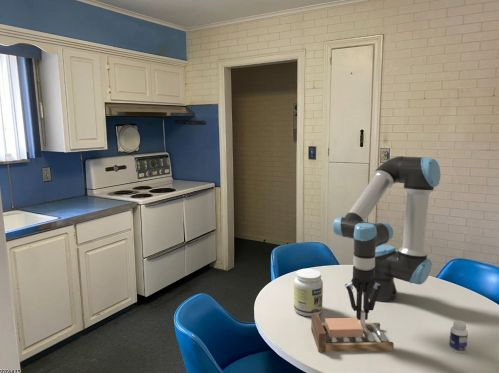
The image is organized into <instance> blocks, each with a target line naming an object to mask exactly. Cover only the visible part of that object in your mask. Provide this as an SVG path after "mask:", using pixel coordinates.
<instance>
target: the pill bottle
mask: <svg viewBox="0 0 499 373" xmlns="http://www.w3.org/2000/svg"><path fill="white" fill-rule="evenodd" d="M449 331H450V332H449V343H448V344H449V346H448V347H449V349H450V350H452V351H453V352H455V353H458V354H459V353H460V354H463V353H466V352H467V349H468V337H469V332H468V330H467V323H466V322H464V321H462V320H454V321H453V323H452V326H451V327H450V330H449Z"/></svg>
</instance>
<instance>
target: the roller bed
mask: <svg viewBox="0 0 499 373" xmlns="http://www.w3.org/2000/svg"><path fill="white" fill-rule="evenodd" d="M371 323H372V324H371V327H372V329H373V332H374V333H375V335H376V337H377V338H378V340H379V342H389V340H388V338H387V337H386V336H385V334H384V333H383V331H382V330H381V327H380V328H379V326H378V325H377V324H376V323H377V322H371ZM324 327H325V326H324ZM325 330H326V328H325ZM325 333H326V336H328V340H329V343H339V342H338V340H337V337H329V335H328V332H327V330H326V331H325ZM363 337H365V339H366V342H377V341H376V339H375V337H373V335H372V333H371V331H369V330H368V328H367V326H366V325H365V329H363ZM340 338H341V341H342V343H351V340H350V337H340ZM352 338H353V340H354V343H359V342H364V340H363V339H362V337H352Z"/></svg>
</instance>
